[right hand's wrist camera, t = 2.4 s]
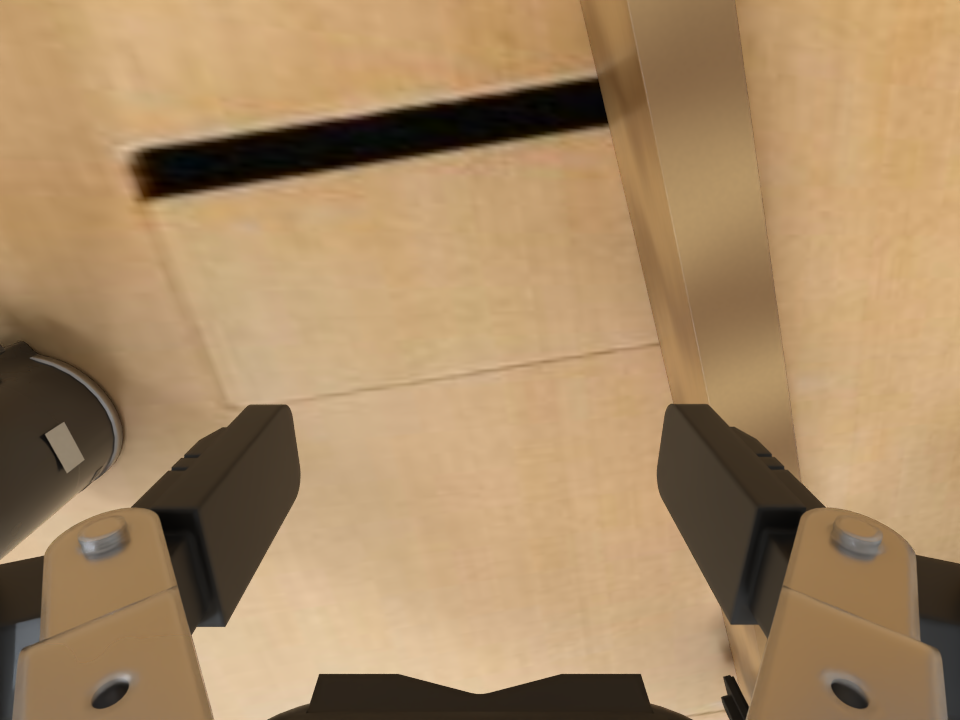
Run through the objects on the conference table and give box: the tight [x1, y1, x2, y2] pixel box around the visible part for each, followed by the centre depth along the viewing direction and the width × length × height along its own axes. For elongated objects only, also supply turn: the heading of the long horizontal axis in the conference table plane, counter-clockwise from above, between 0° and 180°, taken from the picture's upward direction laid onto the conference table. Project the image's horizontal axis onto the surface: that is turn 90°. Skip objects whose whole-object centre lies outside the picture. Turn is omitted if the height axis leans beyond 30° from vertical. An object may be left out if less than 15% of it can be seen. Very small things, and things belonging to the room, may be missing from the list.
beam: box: [580, 0, 801, 706], centre depth 27 cm, size 80×4×7 cm, turn 19°
